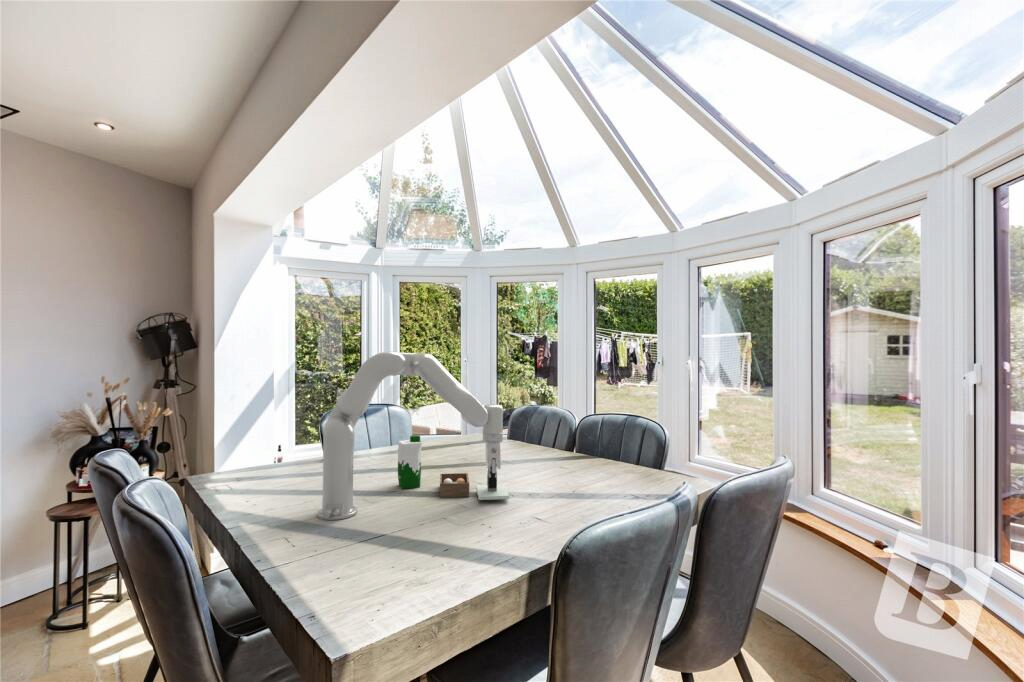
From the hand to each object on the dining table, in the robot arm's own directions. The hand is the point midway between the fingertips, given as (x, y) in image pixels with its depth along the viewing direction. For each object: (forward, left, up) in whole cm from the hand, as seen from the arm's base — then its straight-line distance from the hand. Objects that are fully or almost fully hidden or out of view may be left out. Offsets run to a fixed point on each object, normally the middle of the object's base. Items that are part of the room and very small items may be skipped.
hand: (491, 486), depth 177 cm
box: (+9, +14, -4) cm, 17 cm away
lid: (0, 0, -3) cm, 3 cm away
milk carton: (+18, +32, -4) cm, 37 cm away
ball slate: (+7, +14, -2) cm, 15 cm away
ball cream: (+12, +16, -2) cm, 20 cm away
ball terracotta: (+12, +11, -2) cm, 17 cm away
